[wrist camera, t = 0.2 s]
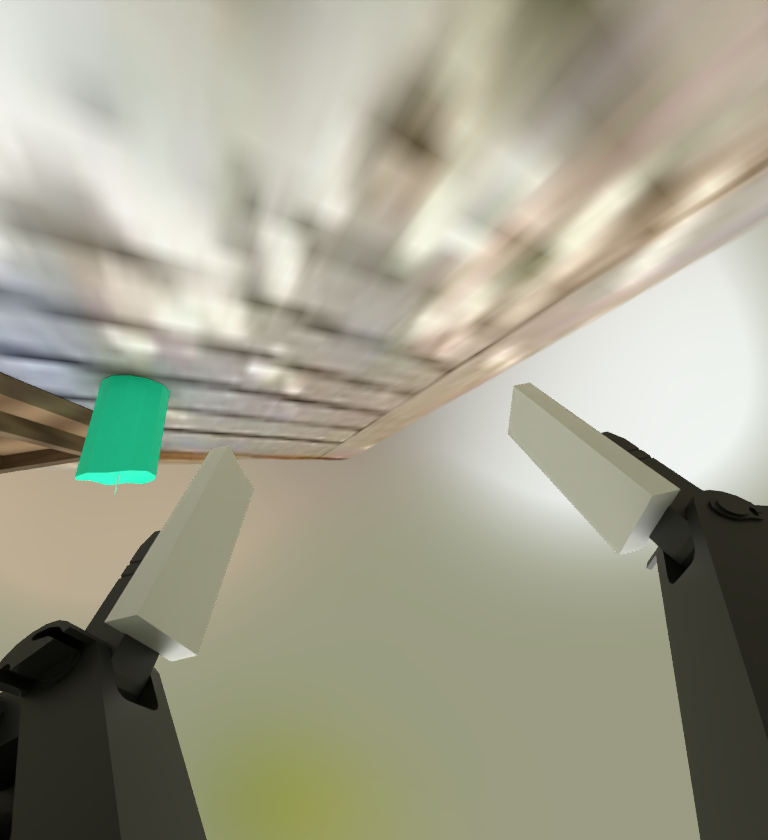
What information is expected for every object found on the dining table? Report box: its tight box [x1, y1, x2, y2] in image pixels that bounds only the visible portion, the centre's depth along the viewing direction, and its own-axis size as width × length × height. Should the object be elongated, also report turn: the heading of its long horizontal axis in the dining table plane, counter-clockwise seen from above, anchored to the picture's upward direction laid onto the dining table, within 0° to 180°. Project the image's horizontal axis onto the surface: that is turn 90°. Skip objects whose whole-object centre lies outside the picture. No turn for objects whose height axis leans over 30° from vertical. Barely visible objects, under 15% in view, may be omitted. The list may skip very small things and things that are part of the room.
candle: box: [75, 375, 170, 494], centre depth 29 cm, size 6×6×12 cm
